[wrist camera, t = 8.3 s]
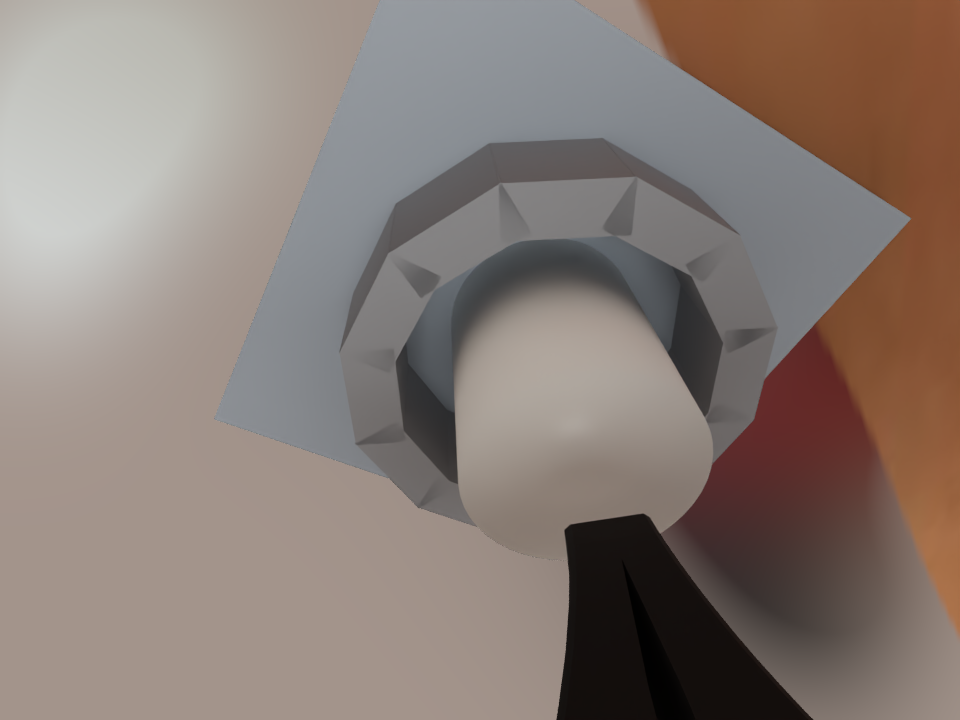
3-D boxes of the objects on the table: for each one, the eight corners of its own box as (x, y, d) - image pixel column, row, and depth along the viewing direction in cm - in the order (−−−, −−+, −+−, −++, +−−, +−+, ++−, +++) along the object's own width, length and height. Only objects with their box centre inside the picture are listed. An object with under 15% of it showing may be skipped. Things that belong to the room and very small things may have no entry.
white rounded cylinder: (668, 285, 17) (766, 427, 12) (569, 418, 19) (617, 584, 14) (507, 204, 16) (542, 328, 10) (420, 358, 18) (415, 520, 13)
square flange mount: (888, 205, 17) (997, 267, 14) (599, 530, 24) (627, 626, 20) (420, -98, 13) (415, -114, 10) (223, 398, 19) (179, 492, 16)
